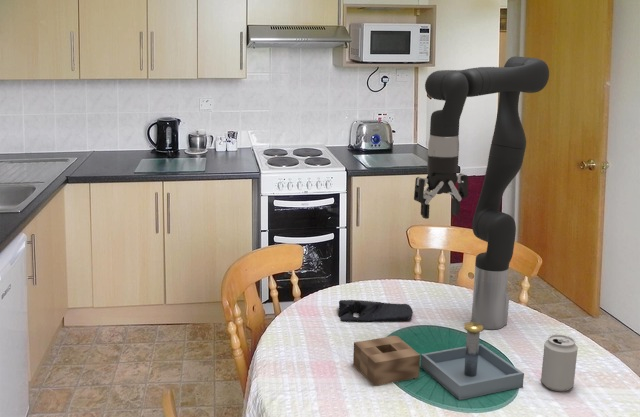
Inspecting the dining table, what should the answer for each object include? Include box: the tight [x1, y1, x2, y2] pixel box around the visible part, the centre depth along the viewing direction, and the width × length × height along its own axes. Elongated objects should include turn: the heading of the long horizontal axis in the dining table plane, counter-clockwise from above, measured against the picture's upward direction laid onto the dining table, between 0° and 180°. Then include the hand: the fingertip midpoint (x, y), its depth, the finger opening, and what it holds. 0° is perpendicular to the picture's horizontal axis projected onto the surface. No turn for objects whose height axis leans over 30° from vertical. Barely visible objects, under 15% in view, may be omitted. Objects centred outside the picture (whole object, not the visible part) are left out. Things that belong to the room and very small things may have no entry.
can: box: [540, 333, 579, 392], centre depth 172 cm, size 8×8×12 cm
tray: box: [420, 343, 525, 401], centre depth 177 cm, size 18×18×4 cm
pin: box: [463, 321, 484, 377], centre depth 175 cm, size 4×4×13 cm
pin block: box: [352, 335, 421, 387], centre depth 179 cm, size 12×12×6 cm
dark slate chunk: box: [338, 299, 414, 323], centre depth 215 cm, size 15×22×5 cm
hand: (440, 216), depth 184 cm, fingers open, 8 cm apart
